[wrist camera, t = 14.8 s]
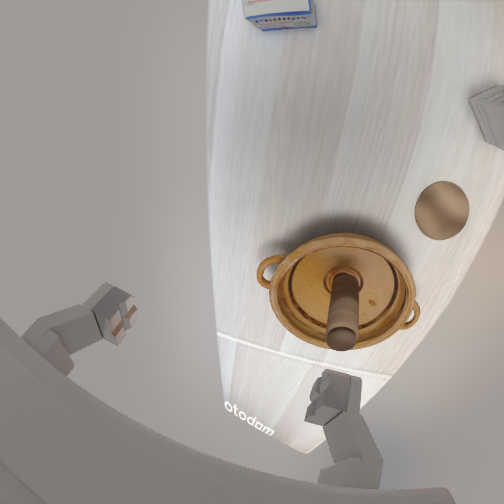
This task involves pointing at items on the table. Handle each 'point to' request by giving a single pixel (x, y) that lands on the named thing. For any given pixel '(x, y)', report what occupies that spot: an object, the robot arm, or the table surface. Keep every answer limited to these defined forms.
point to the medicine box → (280, 13)
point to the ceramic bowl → (320, 282)
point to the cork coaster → (442, 210)
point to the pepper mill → (343, 313)
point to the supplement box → (490, 114)
